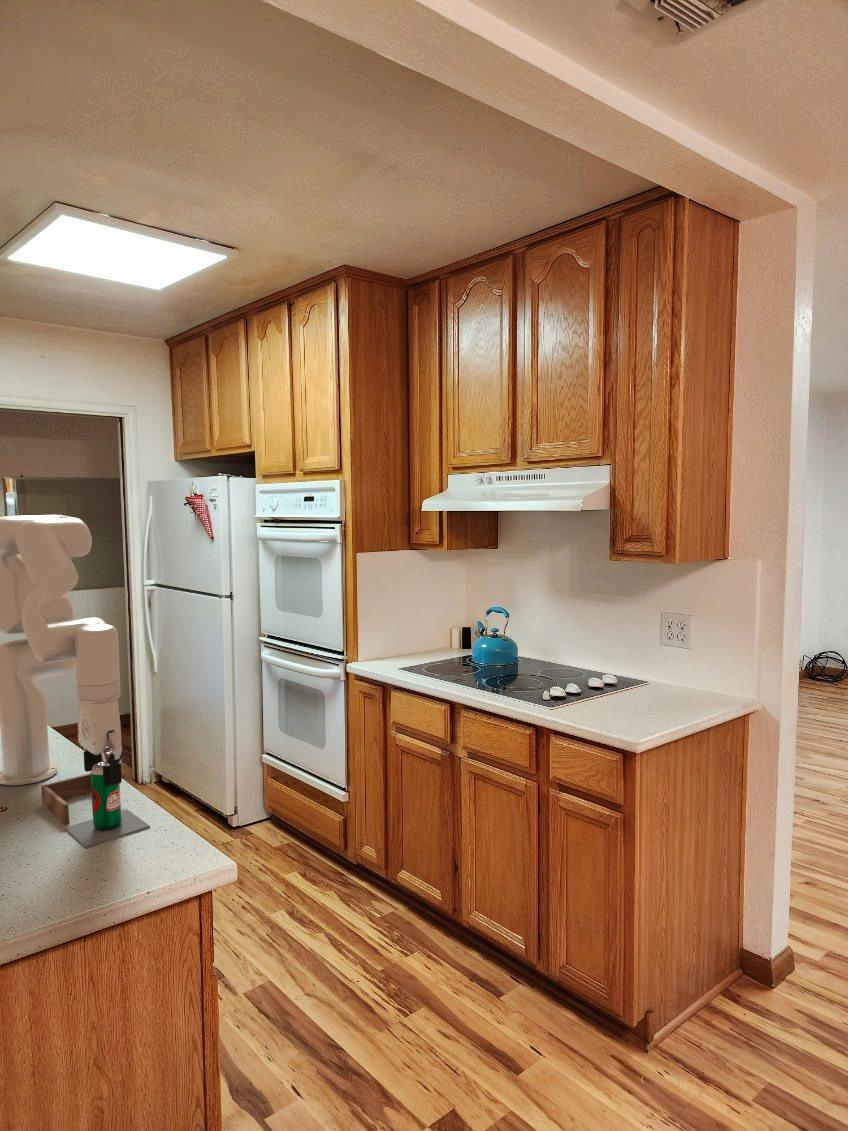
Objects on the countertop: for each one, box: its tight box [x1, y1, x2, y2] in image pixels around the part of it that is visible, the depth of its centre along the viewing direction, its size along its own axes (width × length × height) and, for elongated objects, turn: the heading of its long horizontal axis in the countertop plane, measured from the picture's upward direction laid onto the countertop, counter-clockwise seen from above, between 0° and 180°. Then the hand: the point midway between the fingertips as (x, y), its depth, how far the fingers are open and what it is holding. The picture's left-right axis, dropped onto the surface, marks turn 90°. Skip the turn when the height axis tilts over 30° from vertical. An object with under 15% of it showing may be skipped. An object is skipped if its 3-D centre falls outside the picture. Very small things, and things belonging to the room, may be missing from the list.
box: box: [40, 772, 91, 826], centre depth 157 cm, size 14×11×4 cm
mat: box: [64, 808, 151, 849], centre depth 146 cm, size 11×12×1 cm
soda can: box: [89, 761, 122, 831], centre depth 146 cm, size 5×5×12 cm
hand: (102, 777), depth 146 cm, fingers open, 9 cm apart
